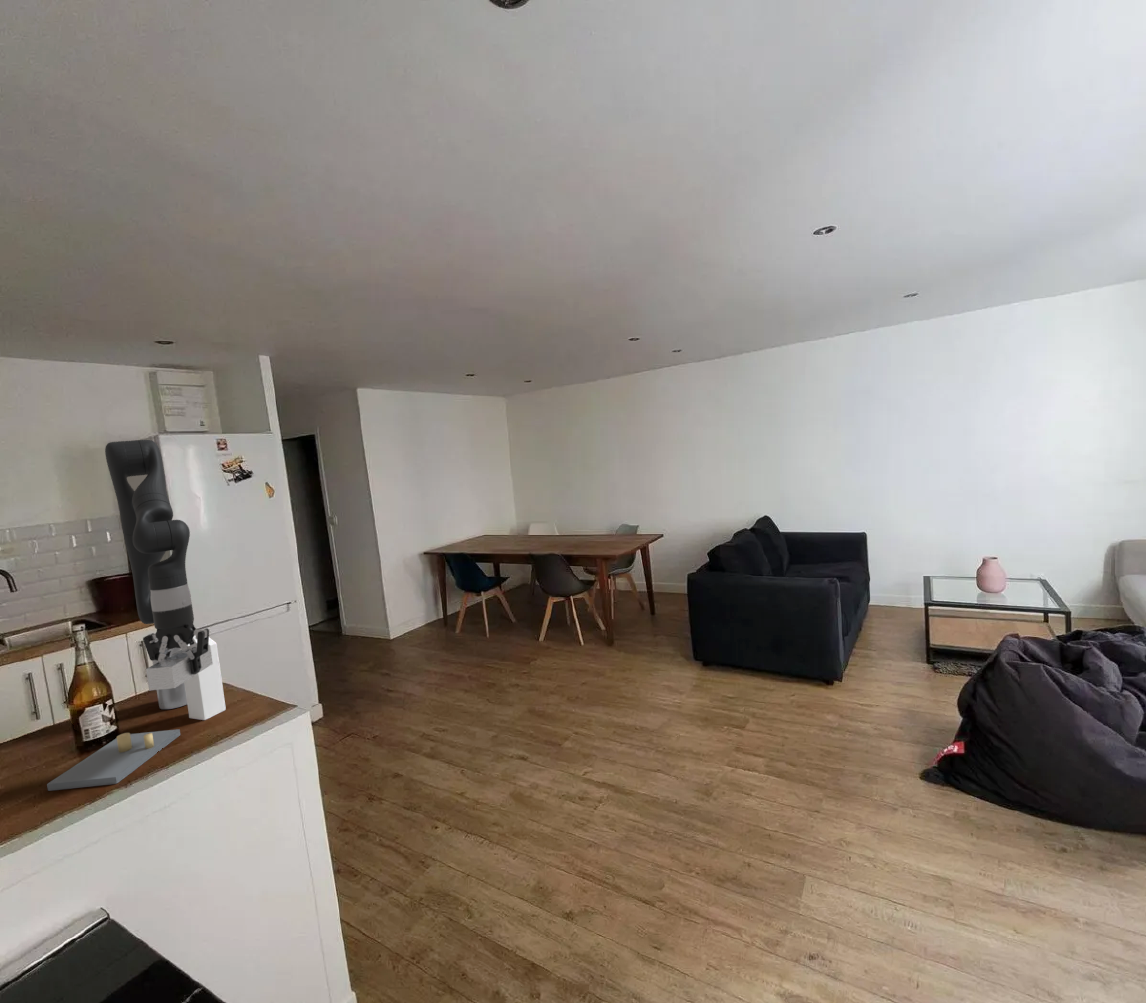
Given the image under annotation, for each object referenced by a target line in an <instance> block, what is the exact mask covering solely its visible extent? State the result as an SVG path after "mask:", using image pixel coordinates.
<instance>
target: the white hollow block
mask: <svg viewBox="0 0 1146 1003" xmlns="http://www.w3.org/2000/svg"><path fill="white" fill-rule="evenodd" d="M189 660H190V658H189V657H188V655H187V654H186V652H183V650H180V651H178V652H176V653H175V654H173V655H171V656H169V657H167V658H165V659H163V660H162V661H160V662H158V663H156V664H154V665H153V664H152V665H150V666H149V667H147V668H146V669H145V672H146V673H145V674H146V679H147V681H146V682H147V685H148V691H157V690H160V689H171V688H176V687H177V686H179V685H180V684H182V683H184V682H185V681H187V680H188V679H190V678H191V677H193V676H195V675H196V674H193V675H192V674H191V668H190V661H189ZM200 660H201V670H200V671H199V672H201V671H202V670H204V669H206V668H207V667H209V666H210V665H212V664H213V662H212V655H211V648H210V645H208V652H206V653H205V654H203V655H201V656H200ZM199 672H198V673H199ZM198 673H197V674H198Z"/></svg>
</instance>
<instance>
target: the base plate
mask: <svg viewBox="0 0 1146 1003" xmlns="http://www.w3.org/2000/svg"><path fill="white" fill-rule="evenodd" d="M179 736H181V730H180V728H179V729H178V728H177V729H169V730H158V731H149V732H147V731H146V732H140V733H139V732H138V733H130V732H124V733H121V734H118V735H117V736H116V738H115V739H113V740H112V741H110V742H109V743H107V744H106V745H103V747H101V748H99V749H98V750H96V751H95V752H94V753H92V754H90V755H89V756H87V757H86V758H84V759H83V760H82V761H80V762H78V763H77V764H75V765H73V766H72V767H71V768H69V769H68V770H66V771H64V772H63V773H62V774H60V775H59V776H56V777H55V778H54V779H52V780H51V781H50V782H48V783H47V784H46V786H47V787H46V788H47V791H59V790H60V791H61V790H70V789H78V788H87V787H89V788H90V787H99V786H108V785H117V784H118V783H120V782H121V781H122V780H123V779H126V777H128V775H130V774H132V773H133V772H134V771H136V770H137V769H138V768H139V767H141V766H142V765H143V764H145V763H146V762H147V761H149V760H150V759H151V758H152V757H154V756H155V755H156V754H157V752H158V751H159V752H160V751H162V750H163V749H164V748H166V747H167V746H168V745H169V744H171V743H172V742H173V741H175V740H176V739H177V738H179ZM162 748H163V749H162ZM159 752H158V753H159Z"/></svg>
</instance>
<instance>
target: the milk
mask: <svg viewBox="0 0 1146 1003" xmlns="http://www.w3.org/2000/svg"><path fill="white" fill-rule="evenodd" d="M193 638H194V640H195V641H196V643H197V639H196V636H195V635H194V637H193ZM208 645H210V648H211V655H212V662H213V664H212V665H210V666H209V667H207V668H206V669H204V670H202V671H201V672H199V673H198V674H196V675H195V676H193V677H191V678H190V679H188V680H187V681H185V682H184V684H185V691H186V698H187V705H186V706H187V710H188V718H189V719H194V720H200V721H201V720H202V721H207V720H209V719H210V718H212V717H214V716H216V715H218V714H220V713H223V712H225V711H226V710H227V708H226V702H225V700H226V699H225V695H224V694H225V693H224V686H223V678H222V672H221V670H222V669H221V664H220V658H219V649H218V643H217V642H216V641H215V640H213V639H212V638H211V637H210V636H209V644H208ZM188 646H190V644H188ZM180 650H182V649H180Z"/></svg>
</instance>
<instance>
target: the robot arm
mask: <svg viewBox="0 0 1146 1003" xmlns="http://www.w3.org/2000/svg"><path fill="white" fill-rule="evenodd" d="M104 451H105V452H104V454H105V460H106V463H107V464H106V465H107V468H108V471H109V475H110V478H111V482H112V485H113V490H114V493H115V497H116V500H117V505H118V509H119V517H120V523H121V528H122V535H123V539H124V544H125V548H126V552H127V555H128V561H129V564H130V569H131V572H132V579H133V587H134V595H135V602H136V609H137V610H136V611H137V615H138V618H139V620H140V622H142V623H143V624H144V625H152V624H153V626H154V628H155V629H156V632H155V633H154V632H153V633H149V634H147V635H145V636H143V637H142V640H143V644H144V647H145V649H146V651H147V652H146V653H147V654H148V657H149V660H150V661H151V662H152V665H154V664H156V663H158V662H160V661H162V660H163V659H165V658H167V657H169V656H171V655H173V654H175V653H176V652H178V651H180V649H182V650H183V652H186V654H187V655H188V657H189V658H190V660H189V661H190V668H191V674H192V675H193V674H197V673H198V672H199V671H200V670H201V660H200V656H201V655H203V654H205V653H206V652H208V644H209V637H210V629H209V628H204V629H197V628H196V626H195V625H194V621H195V617H194V609H193V608H194V607H193V603H192V595H191V591H190V588H189V584H188V577H187V570H186V569H187V568H186V560H187V559H186V558H187V551H188V546H189V541H190V536H191V534H190V532H191V531H190V527H189V525H188V524H187V523H186V522H184V521H183V520H181V519H173V518H174V511H173V508H172V505H171V502H170V499H169V497H168V494H167V485H166V476H165V470H164V469H165V468H164V462H163V459H162V458H163V457H162V454H161V450H160V448H159V446H158V444H157V443H156V442H155V441H154V440H152V439H136V440H134V439H133V440H121V441H109V442H108V443H107V444H106V445H105V448H104ZM139 476H146V477H145V478H144V479H143V480H142V481H141V482H140V484H139V485H138V486H137V487H136V488H135V489H134V488H133V487H132V486H131V484H130V482H129V481H128V478H129V477H130V478H131V477H139ZM168 551H169V552H170V551H172V553H171V554H170V556H169V557H168V558H166V559H164V560H162V559H163V557H164V556H165V554H166V552H168ZM194 636H196V639H197V643H196V641H195V640H194V638H193V637H194ZM188 644H190V646H188ZM156 693H157V694H156V696H157V702H158V706H159V707H158V708H159V709H161V710H171V709H176V708H180V707H183V706H188V705H187V698H186V691H185V684H184V683H182V684H180V685H179V686H177V687H176V688H171V689H160V690H156Z"/></svg>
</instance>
